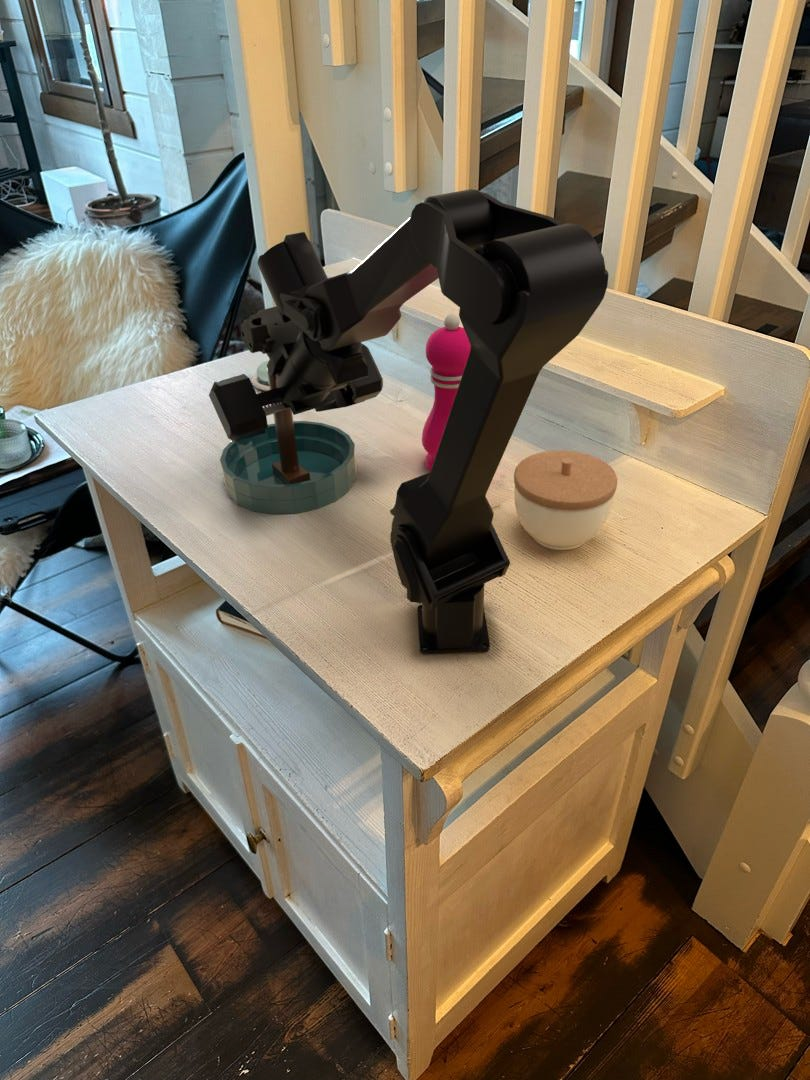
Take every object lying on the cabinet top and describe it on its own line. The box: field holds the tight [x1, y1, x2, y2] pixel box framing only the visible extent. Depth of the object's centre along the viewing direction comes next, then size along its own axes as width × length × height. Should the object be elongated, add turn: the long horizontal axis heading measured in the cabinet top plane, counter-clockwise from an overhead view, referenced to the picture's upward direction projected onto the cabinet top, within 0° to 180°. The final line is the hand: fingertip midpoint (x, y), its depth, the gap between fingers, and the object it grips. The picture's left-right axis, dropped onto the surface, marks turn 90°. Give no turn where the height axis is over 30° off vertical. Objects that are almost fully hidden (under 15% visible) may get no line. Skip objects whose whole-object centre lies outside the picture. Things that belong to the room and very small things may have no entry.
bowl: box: [219, 420, 358, 515], centre depth 94 cm, size 16×16×4 cm
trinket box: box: [513, 449, 618, 551], centre depth 82 cm, size 11×11×9 cm
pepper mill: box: [421, 313, 471, 472], centre depth 91 cm, size 7×7×20 cm
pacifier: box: [251, 357, 270, 392], centre depth 117 cm, size 7×6×6 cm
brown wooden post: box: [267, 369, 310, 484], centre depth 90 cm, size 5×3×14 cm, turn 34°
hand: (281, 418), depth 90 cm, fingers open, 9 cm apart
